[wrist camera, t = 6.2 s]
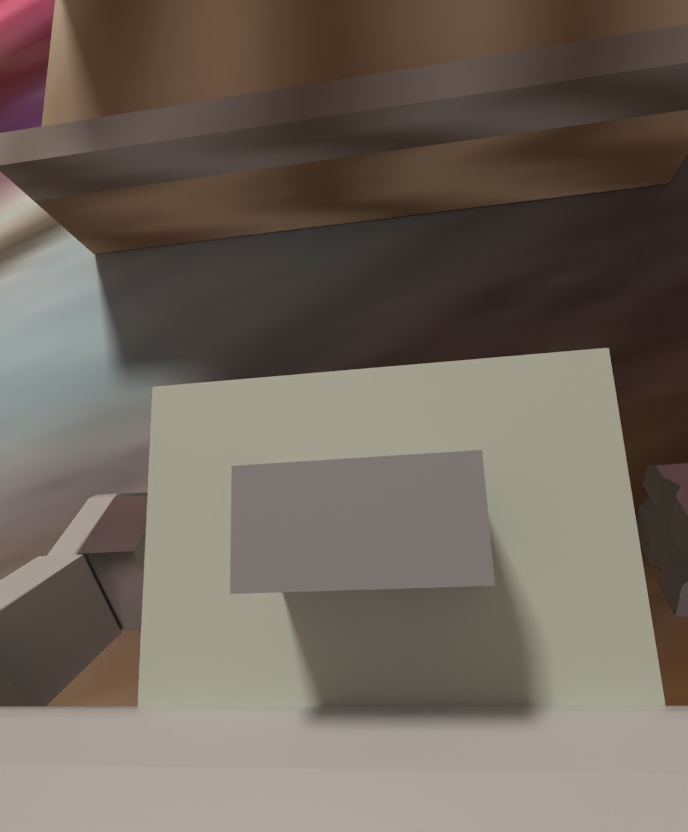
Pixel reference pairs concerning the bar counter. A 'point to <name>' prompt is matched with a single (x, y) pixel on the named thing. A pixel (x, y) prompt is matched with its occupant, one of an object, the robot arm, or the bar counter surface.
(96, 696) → the bar counter surface
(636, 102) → the back board shelf
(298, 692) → the beige block
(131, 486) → the bar counter surface
